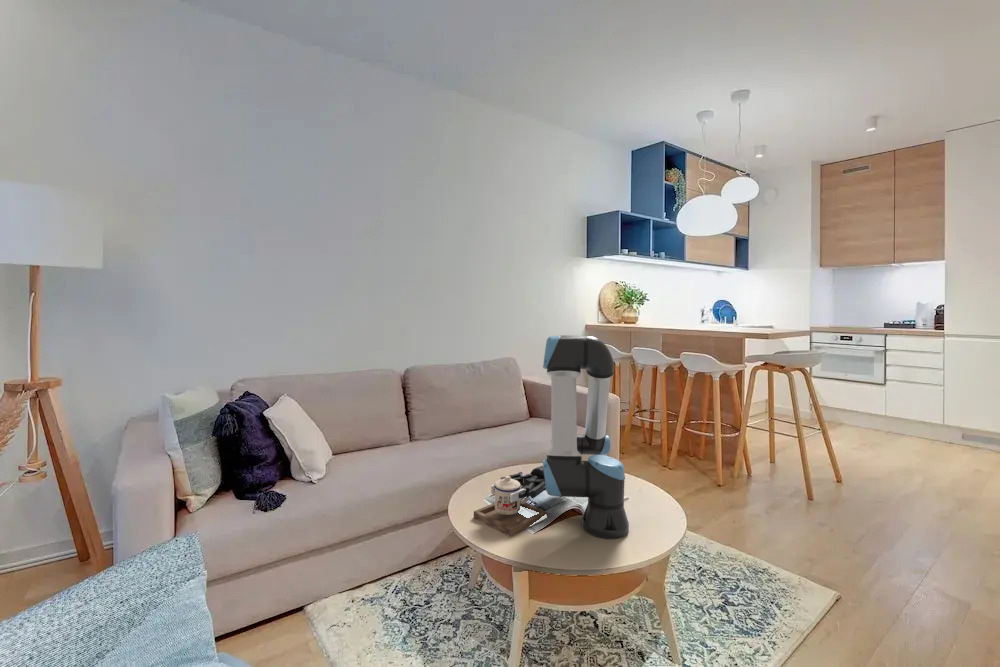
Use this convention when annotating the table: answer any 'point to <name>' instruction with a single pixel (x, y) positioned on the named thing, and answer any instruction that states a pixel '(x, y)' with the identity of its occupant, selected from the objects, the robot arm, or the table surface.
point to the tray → (507, 519)
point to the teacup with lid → (507, 496)
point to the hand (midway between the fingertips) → (501, 494)
